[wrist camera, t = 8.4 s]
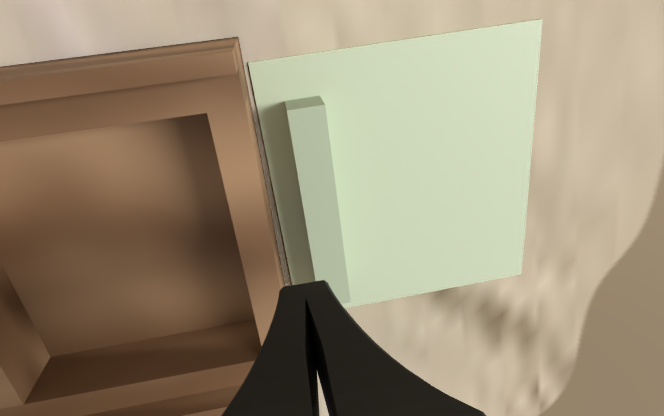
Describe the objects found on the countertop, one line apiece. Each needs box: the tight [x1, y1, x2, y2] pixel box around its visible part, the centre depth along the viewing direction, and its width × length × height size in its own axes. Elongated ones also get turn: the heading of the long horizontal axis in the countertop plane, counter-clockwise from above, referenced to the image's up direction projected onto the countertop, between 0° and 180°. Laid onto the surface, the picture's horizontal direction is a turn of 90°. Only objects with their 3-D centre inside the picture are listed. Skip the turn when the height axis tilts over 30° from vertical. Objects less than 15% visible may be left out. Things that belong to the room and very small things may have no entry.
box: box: [0, 37, 285, 416], centre depth 17 cm, size 14×12×4 cm
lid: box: [248, 19, 543, 308], centre depth 19 cm, size 12×12×2 cm
